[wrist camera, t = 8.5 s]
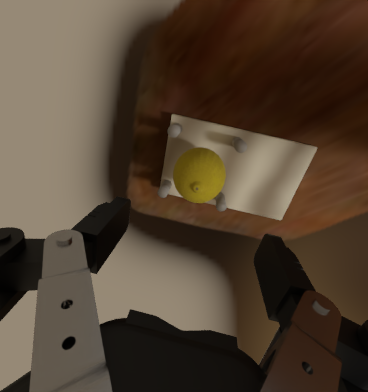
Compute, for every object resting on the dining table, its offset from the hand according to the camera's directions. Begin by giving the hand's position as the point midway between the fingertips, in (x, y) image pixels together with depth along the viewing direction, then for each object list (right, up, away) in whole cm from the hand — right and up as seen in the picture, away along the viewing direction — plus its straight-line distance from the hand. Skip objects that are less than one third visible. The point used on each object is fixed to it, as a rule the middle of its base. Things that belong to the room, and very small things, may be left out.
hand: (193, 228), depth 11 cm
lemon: (+2, +6, +13) cm, 14 cm away
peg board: (+5, +6, +14) cm, 16 cm away
